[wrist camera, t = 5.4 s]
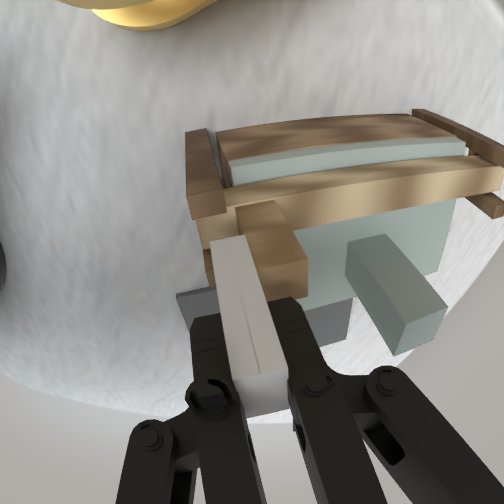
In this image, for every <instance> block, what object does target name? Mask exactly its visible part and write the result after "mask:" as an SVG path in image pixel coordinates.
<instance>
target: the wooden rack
mask: <svg viewBox="0 0 504 504" xmlns="http://www.w3.org/2000/svg"><path fill="white" fill-rule="evenodd" d="M215 134H216V140H217V145H218V151H219V157H220V163H221V169H222V175H223V181H224V186H225V188H229V187H232V182H231V175H230V169H229V163H228V161H232V160H237V159H243V158H248V157H254V156H260V155H266V154H272V153H278V152H285V151H292V150H299V149H306V148H314V147H322V146H330V145H339V144H349V143H359V142H370V141H383V140H397V139H415V138H443V137H456V138H458V139H460V140H462V141H464V142H466V145H465V146H466V147H468V148H469V154H468V156H471V155H482V156H484V157H485V158H487V159H489V160H491V161H492V162H494V163H496V164H497V165H499V166H501V167H502V168H504V145H502V144H500V143H498V142H496V141H494V140H492V139H490V138H488V137H486V136H484V135H482V134H480V133H478V132H476V131H474V130H472V129H470V128H468V127H465V126H463V125H461V124H459V123H457V122H454V121H452V120H450V119H447V118H445V117H442V116H440V115H438V114H435V113H433V112H430V111H427V110H425V109H412V116H411V115H408V114H372V115H351V116H336V117H324V118H313V119H303V120H294V121H286V122H278V123H270V124H263V125H256V126H250V127H244V128H238V129H232V130H226V131H221V132H215ZM185 156H186V197H187V201H188V205H189V209H190V213H191V217H192V220H196V219H200V218H205V217H209V216H214V215H219V214H224V213H227V208H226V203H225V197H224V192H223V187H222V184H221V180H220V177H219V173H218V170H217V167H216V163H215V160H214V156H213V153H212V149H211V146H210V142H209V139H208V135H207V132H206V128H204V129H200V130H195V131H190V132H185ZM465 198H466V199H467V200H469V201H470V202H471V203H473V204H474V205H475V206H477V207H478V208H479V209H480V210H482V211H483V212H484V213H485V214H487V215H488V216H489V217H490V218H492V219H495V218H499V217H502V216H503V215H504V201H503V200H502V199H500V198H499V197H498V196H496V195H495V194H494V193H492V192H489V193H483V194H478V195H472V196H467V197H465ZM203 255H204V262H205V270H206V274H207V278H208V282H209V285H210V288H215V287H216V281H215V275H214V268H213V261H212V255H211V248H209V249H205V250H203Z"/></svg>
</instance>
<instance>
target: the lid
mask: <svg viewBox="0 0 504 504" xmlns="http://www.w3.org/2000/svg"><path fill="white" fill-rule="evenodd" d="M465 145H466V142H464V141H462V140H460V139H458V138H456V137H443V138H415V139H397V140H383V141H370V142H359V143H349V144H339V145H330V146H322V147H314V148H306V149H299V150H292V151H285V152H278V153H272V154H266V155H260V156H254V157H248V158H243V159H237V160H232V161H228V163H229V169H230V175H231V182H232V187H234V186H239V185H244V184H250V183H255V182H260V181H266V180H272V179H277V178H283V177H289V176H295V175H301V174H307V173H314V172H321V171H327V170H334V169H341V168H349V167H356V166H364V165H372V164H380V163H389V162H398V161H408V160H419V159H430V158H442V157H456V156H464V153H465ZM455 202H456V199H451V200H446V201H441V202H435V203H430V204H425V205H420V206H414V207H409V208H404V209H399V210H394V211H389V212H384V213H379V214H374V215H369V216H364V217H359V218H354V219H349V220H344V221H339V222H334V223H329V224H324V225H319V226H314V227H309V228H304V229H299V230H295V231H293V233H294V235H295V236H296V238H297V240H298V242H299V244H300V245H301V247H302V249H303V251H304V252H305V254H306V256H307V258H308V297H304V298H300V299H296V301H297V302H298V303H299V304H300V305H301V306H302V308H303V311H306V310H310V309H313V308H317V307H321V306H325V305H328V304H332V303H336V302H339V301H343V300H346V299H350V298H353V297H357V296H358V298H359V299H360V301H361V302H362V304H363V306H364V307H365V309H366V311H367V312H368V314H369V316H370V317H371V319H372V321H373V322H374V324H375V325H376V327H377V329H378V331H379V332H380V334H381V336H382V337H383V339H384V341H385V342H386V344H387V346H388V348H389V349H390V351H391V353H392V354H393V356H396V355H399V354H401V353H404V352H406V351H409V350H411V349H413V348H416V347H418V346H420V345H423V344H425V343H427V342H429V341H432V340H433V339H434V336H435V335H436V333H437V331H438V328H439V326H440V324H441V322H442V320H443V318H444V315H445V313H446V311H447V309H448V306H447V305H446V304H445V302H444V301H443V300H442V299H441V297H440V296H439V295H438V294H437V292H436V291H435V290H434V289H433V287H432V286H431V285H430V284H429V283H428V281H427V280H426V279H425V278H424V277H423V276H425V275H428V274H431V273H434V272H436V271H437V270H438V267H439V263H440V260H441V257H442V253H443V250H444V247H445V243H446V239H447V236H448V232H449V228H450V224H451V220H452V216H453V211H454V207H455Z"/></svg>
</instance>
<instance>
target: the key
mask: <svg viewBox="0 0 504 504" xmlns="http://www.w3.org/2000/svg"><path fill="white" fill-rule="evenodd" d="M503 176H504V168H502V167H501V166H499V165H497V164H496V163H494V162H492V161H491V160H489V159H487V158H485V157H484V156H482V155H471V156H456V157H442V158H430V159H419V160H408V161H398V162H389V163H380V164H372V165H364V166H356V167H349V168H341V169H334V170H327V171H321V172H314V173H307V174H301V175H295V176H289V177H283V178H277V179H272V180H266V181H260V182H255V183H250V184H244V185H239V186H234V187H229V188H224V189H223V192H224V197H225V203H226V208H227V213H224V214H219V215H214V216H209V217H205V218H200V219H196V223H197V227H198V231H199V235H200V239H201V243H202V247H203V250H205V249H209V248H210V242H211V241H215V240H220V239H225V238H230V237H235V236H240V235H245V237H246V240H247V243H248V246H249V249H250V252H251V255H252V259H253V262H254V265H255V268H256V271H257V274H258V277H259V280H260V283H261V286H262V289H263V292H264V295H265V299H266V302H269V301H273V300H278V299H282V298H286V297H292V298H294V299H295V300H296V299H300V298H304V297H308V258H307V256H306V254H305V252H304V251H303V249H302V247H301V245H300V244H299V242H298V240H297V238H296V236H295V235H294V233H293V231H295V230H299V229H304V228H309V227H314V226H319V225H324V224H329V223H334V222H339V221H344V220H349V219H354V218H359V217H364V216H369V215H374V214H379V213H384V212H389V211H394V210H399V209H404V208H409V207H414V206H420V205H425V204H430V203H435V202H441V201H446V200H451V199H456V198H462V197H467V196H472V195H478V194H483V193H489V192H494V191H499V190H500V189H501V184H502V180H503Z"/></svg>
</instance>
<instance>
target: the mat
mask: <svg viewBox="0 0 504 504" xmlns="http://www.w3.org/2000/svg"><path fill="white" fill-rule="evenodd" d="M176 299H177V302H178V305H179V307H180V310H181V312H182V315H183V317H184V320H185V322H186V325H187V327H188V329H189V332H190V328H191V325H192V323H193V320H194V318H196V317H201V316H206V315H211V314H216V313H221V312H220V306H219V300H218V294H217V287H215V288H210V287H209V288H204V289H199V290H195V291H190V292H185V293H180V294H176ZM352 300H353V298H350V299H346V300H343V301H339V302H336V303H332V304H328V305H325V306H321V307H317V308H313V309H310V310H306V311H304V313H305V315H306V319H307V320H308V322H309V325H310V328H311V329H312V332H313V334H314V337H315V339H316V341H317V344H318V346H319V347H321V346H325V345H328V344H332V343H335V342H338V341H342V340H345V339H346V336H347V330H348V325H349V319H350V313H351V306H352Z"/></svg>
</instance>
